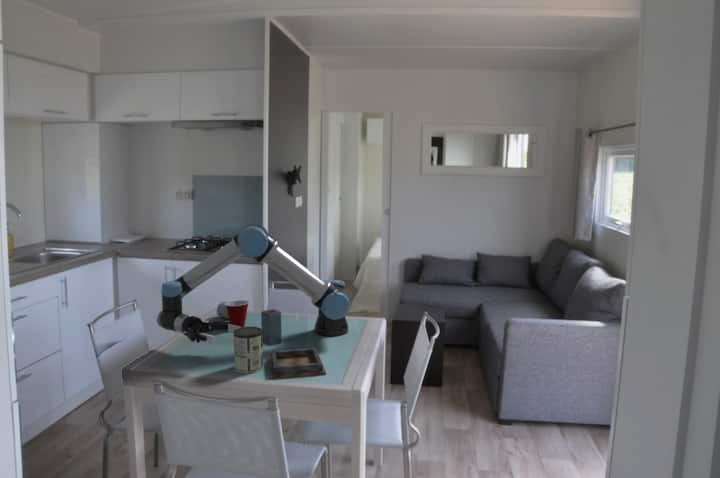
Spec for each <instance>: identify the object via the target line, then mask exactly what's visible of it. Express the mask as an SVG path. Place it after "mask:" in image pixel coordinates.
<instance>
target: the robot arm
mask: <svg viewBox="0 0 720 478" xmlns="http://www.w3.org/2000/svg"><path fill="white" fill-rule="evenodd" d="M231 239H232V240H231V241H229V242H228V243H227V244H225V245H224V246H222V247H221V248H220V249H218V250H217V251H215V252H214V253H213V254H210V256H208V257H207V258H205V259H204V260H203V261H201V262H199V263H198V264H197V265H195V266H194V267H192V268H191V269H190V270H188V271H186V272H185V273H184V274H182V275H181V276H179V277H178V278H175V279H174V280H171V281H165V282H163V283H162V284H161V291H160V292H161V307H162V308H161V309H162V310H161V311H160V312H159V313H158V314H157V315H158V316H157V317H156V323H157V325H158V326H159V327H160V328H162V329H164V330H166V331H171V332H175V333H180V334H182V335H183V336H185V337H187V338H188V339H189V340H190V342H192V343H193V342H195V341H196V343H200V342H201V341H202V342H204V343H208V344H211V345H214V344H215V335H211V334H208V333H211V332H214V331H228V333H229V332H230V333H233V331H234V330H236V329H238V328H242V327H240V326H236V325H233V322H230V320H228V321H224V320H223V321H219V320H218V321H217V320H209V321H208V322H207V321H206V322H205V321H203V320H202V319H201V318H200V317H198V316H194V315H190V314H187V313H183V299H184V297H185V296H187V295H188V294H189V293H190V292H192V291H193V290H194V289H196V288H197V287H199V286H200V285H202V284H203V283H205V282H206V281H207V280H209V279H211V278H212V277H213V276H215V275H216V274H218V273H219V272H221V271H222V270H224V269H225V268H226V267H228V266H229V265H231V264H232V263H234V262H235V261H237V260H238V259H240V258H241V257H242V256H243V257H249V258H252V259H253V260H254V261H256V262H257V263H258V264H266V266H269V267H270V268H271V269H272V270H273V271H275V272H276V273H278V274H279V275H280V276H282V277H283V279H286V280H287V281H288V282H289V283H291V284H292V285H294V287H296V288H298V289H299V290H300V291H301V292H303V293H304V294H305V295H306V296H308V297H309V298H310V299H311V304H312V305H314V306H315V307H316V309H318V315H317V317H316V321H315V324H314V333H316V334H317V335H320V336H327V337H337V336H342V335H346V334H347V333H348V332H349V324H348V320H347V317H346V315H348V312H349V310H350V306H351V304H350V298H349V296H348V295H347V293H346V292H345V291H346V290H345V289H346V283H345V281H344V280H340V279H327V280H324V279H323V280H322V278H320V277H319V276H318V275H316V274H315V273H313V272H312V271H311V270H309V269H308V268H307V267H306V266H305V265H303V264H302V263H300V261H298V259H295V258H294V257H293V256H292V255H291V254H289V253H287V252H286V251H285V250H284V249H283V248H282V247H280V246H279V244H278V243H279V241H278V240H277V239H276V238H275V237H273V236H272V235H270V233H268V230H267V229H266V228H265V226H263V225H261V224H259V223H250V224H247V225H246V226H244V227H243V228H242V229H241V230H240V231H239V232H238V233H237V234H236V235H234V236H233V237H231Z"/></svg>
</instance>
